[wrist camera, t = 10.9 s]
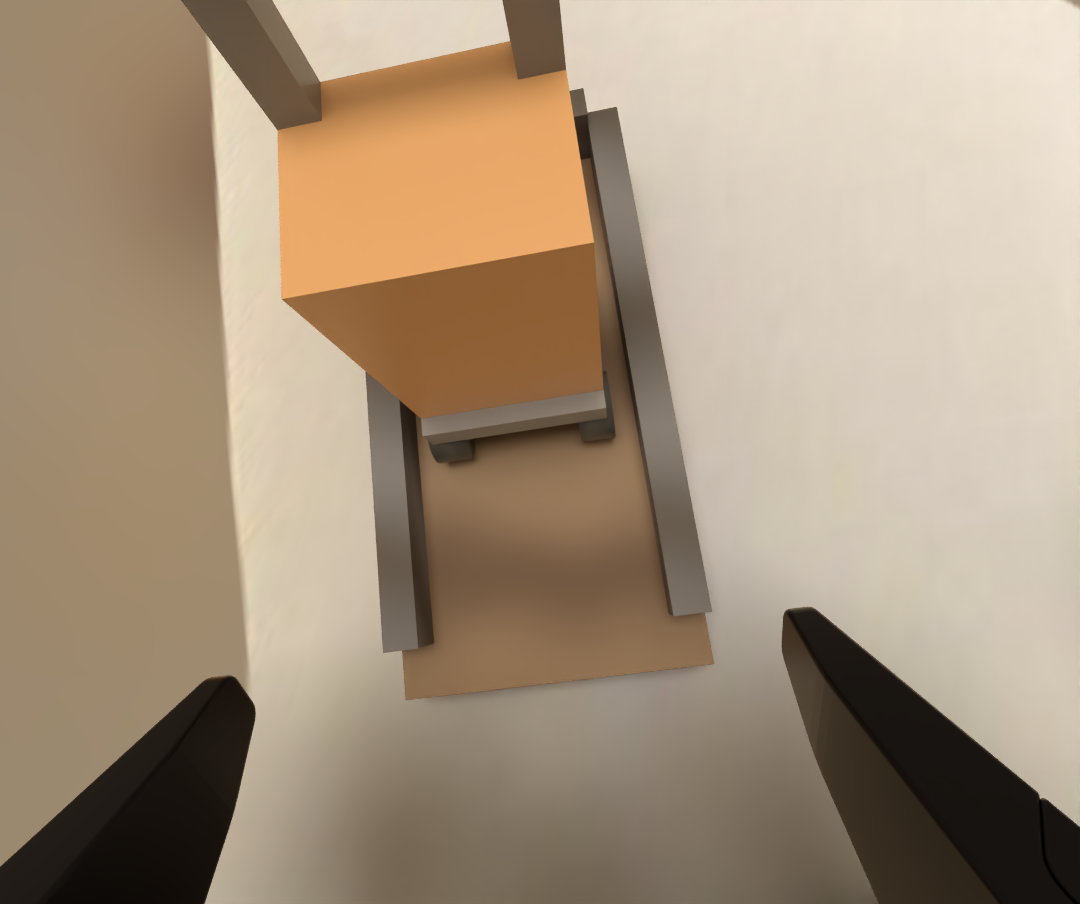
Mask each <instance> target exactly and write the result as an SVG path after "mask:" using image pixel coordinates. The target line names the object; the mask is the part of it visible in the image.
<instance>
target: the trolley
mask: <svg viewBox="0 0 1080 904" xmlns="http://www.w3.org/2000/svg"><path fill="white" fill-rule="evenodd" d="M181 1H182V2H183V3H184V5H185V6H186V7H187V9H188V10H189V11H190V13H191V14H192V15H193V17H194V18H195V19H196V21H197V22H198V23H199V25H200V26H201V28H202V29H203V30H204V32H205V33H206V34H207V36H208V37H209V38H210V40H211V41H212V42H213V44H214V45H215V46H216V48H217V49H218V51H219V52H220V53H221V55H222V56H223V57H224V59H225V60H226V61H227V63H228V64H229V65H230V67H231V68H232V69H233V71H234V72H235V73H236V75H237V76H238V77H239V79H240V80H241V81H242V83H243V84H244V86H245V87H246V88H247V90H248V91H249V92H250V94H251V95H252V96H253V98H254V99H255V100H256V102H257V103H258V104H259V106H260V107H261V108H262V110H263V111H264V112H265V114H266V115H267V116H268V118H269V119H270V121H271V122H272V123H273V125H274V126H275V127H276V129H277V130H278V169H279V210H280V252H281V294H282V300H283V301H285V302H286V303H287V304H288V305H289V306H290V307H292V308H293V309H294V310H295V311H296V312H297V313H299V314H300V315H301V316H302V317H303V318H304V319H306V320H307V321H308V322H309V323H310V324H311V325H313V326H314V327H315V328H316V329H317V330H318V331H320V332H321V333H322V334H323V335H324V336H325V337H327V338H328V339H329V340H330V341H331V342H332V343H334V344H335V345H336V346H337V347H338V348H339V349H341V350H342V351H343V352H344V353H345V354H346V355H348V356H349V357H350V358H351V359H352V360H353V361H355V362H356V363H357V364H358V365H359V366H360V367H361V368H363V369H364V370H365V371H366V372H367V373H368V374H370V375H371V376H372V377H373V378H374V379H375V380H377V381H378V382H379V383H380V384H381V385H382V386H384V387H385V388H386V389H387V390H388V391H389V392H391V393H392V394H393V395H394V396H395V397H396V398H398V399H399V400H400V401H401V402H402V403H403V404H405V405H406V406H407V407H408V408H409V409H410V410H412V411H413V412H414V413H415V414H416V415H417V416H419V417H420V418H421V423H422V435H423V437H424V438H425V439H427V440H428V443H429V447H430V450H431V453H432V455H433V457H434V459H435V460H436V462H437V463H446V462H453V461H460V460H466V459H472V458H473V457H474V453H475V438H481V437H487V436H494V435H500V434H507V433H513V432H520V431H526V430H533V429H539V428H546V427H552V426H559V425H565V424H572V423H578V422H579V428H580V434H581V439H582V442H586V441H593V440H599V439H606V438H613V437H616V434H615V424H614V416H613V409H612V402H611V395H610V389H609V383H608V378H607V373H606V371H602V359H601V344H600V328H599V312H598V297H597V281H596V265H595V250H594V239H593V233H592V227H591V221H590V215H589V208H588V202H587V196H586V190H585V184H584V178H583V172H582V165H581V159H580V153H579V147H578V141H577V135H576V129H575V122H574V116H573V110H572V104H571V98H570V92H569V85H568V79H567V73H566V65H565V55H564V45H563V34H562V24H561V14H560V3H559V0H503V5H504V10H505V15H506V21H507V26H508V31H509V36H510V41H509V42H504V43H500V44H495V45H491V46H486V47H481V48H477V49H472V50H467V51H463V52H458V53H453V54H449V55H444V56H439V57H435V58H430V59H426V60H421V61H416V62H412V63H407V64H402V65H398V66H393V67H388V68H384V69H379V70H375V71H370V72H365V73H361V74H356V75H351V76H347V77H342V78H337V79H333V80H328V81H324V82H320V81H319V79H318V78H317V76H316V74H315V72H314V71H313V69H312V67H311V66H310V64H309V62H308V61H307V59H306V57H305V55H304V54H303V52H302V50H301V49H300V47H299V45H298V44H297V42H296V40H295V38H294V37H293V35H292V33H291V32H290V30H289V28H288V27H287V25H286V23H285V21H284V20H283V18H282V16H281V15H280V13H279V11H278V9H277V8H276V6H275V4H274V3H273V1H272V0H181Z"/></svg>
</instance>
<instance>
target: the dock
mask: <svg viewBox="0 0 1080 904" xmlns="http://www.w3.org/2000/svg"><path fill="white" fill-rule="evenodd" d="M569 92H570V98H571V104H572V110H573V116H574V122H575V129H576V135H577V141H578V147H579V153H580V159H581V165H582V172H583V178H584V184H585V190H586V196H587V202H588V208H589V215H590V221H591V227H592V233H593V239H594V250H595V265H596V281H597V297H598V312H599V328H600V344H601V359H602V371H606V373H607V378H608V383H609V389H610V395H611V402H612V409H613V416H614V424H615V434H616V437H613V438H606V439H599V440H593V441H586V442H582V439H581V434H580V428H579V422H578V423H572V424H565V425H559V426H552V427H546V428H539V429H533V430H526V431H520V432H513V433H507V434H500V435H494V436H487V437H481V438H475V453H474V457H473V458H472V459H466V460H460V461H453V462H446V463H437V462H436V460H435V459H434V457H433V455H432V453H431V450H430V447H429V443H428V440H427V439H425V438H424V437H423V435H422V423H421V418H420V417H419V416H417V415H416V414H415V413H414V412H413V411H412V410H410V409H409V408H408V407H407V406H406V405H405V404H403V403H402V402H401V401H400V400H399V399H398V398H396V397H395V396H394V395H393V394H392V393H391V392H389V391H388V390H387V389H386V388H385V387H384V386H382V385H381V384H380V383H379V382H378V381H377V380H375V379H374V378H373V377H372V376H371V375H370V374H368V373H367V372H366V386H367V402H368V418H369V434H370V449H371V465H372V481H373V497H374V513H375V529H376V545H377V561H378V577H379V593H380V609H381V625H382V641H383V653H385V652H393V651H401V650H402V653H403V668H404V682H405V696H406V700H412V699H420V698H429V697H437V696H446V695H454V694H463V693H471V692H480V691H488V690H497V689H505V688H514V687H522V686H531V685H539V684H548V683H556V682H565V681H573V680H582V679H590V678H599V677H608V676H616V675H625V674H633V673H642V672H650V671H659V670H667V669H676V668H684V667H693V666H701V665H710V664H714V662H713V657H712V651H711V646H710V640H709V635H708V630H707V624H706V619H705V613H704V612H712V610H711V604H710V599H709V594H708V588H707V583H706V578H705V572H704V567H703V562H702V557H701V551H700V546H699V541H698V535H697V530H696V525H695V519H694V514H693V509H692V504H691V498H690V493H689V488H688V482H687V477H686V472H685V466H684V461H683V456H682V451H681V445H680V440H679V435H678V429H677V424H676V419H675V413H674V408H673V403H672V398H671V392H670V387H669V382H668V376H667V371H666V366H665V361H664V355H663V350H662V345H661V339H660V334H659V329H658V323H657V318H656V313H655V308H654V302H653V297H652V292H651V286H650V281H649V276H648V270H647V265H646V260H645V255H644V249H643V244H642V239H641V233H640V228H639V223H638V217H637V212H636V207H635V202H634V196H633V191H632V186H631V180H630V175H629V170H628V164H627V159H626V154H625V149H624V143H623V138H622V133H621V127H620V122H619V117H618V111H617V107H613V108H609V109H604V110H599V111H594V112H589V113H587V107H586V102H585V96H584V90H583V88H582V89H577V90H572V91H569Z"/></svg>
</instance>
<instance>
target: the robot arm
mask: <svg viewBox="0 0 1080 904" xmlns="http://www.w3.org/2000/svg"><path fill="white" fill-rule="evenodd" d="M782 653H783V657H784V661H785V664H786V668H787V671H788V674H789V677H790V680H791V683H792V687H793V690H794V693H795V696H796V699H797V702H798V706H799V709H800V712H801V715H802V718H803V722H804V725H805V728H806V731H807V734H808V737H809V741H810V744H811V747H812V749H813V752H814V755H815V758H816V761H817V763H818V766H819V768H820V771H821V773H822V775H823V778H824V780H825V782H826V784H827V787H828V789H829V791H830V794H831V796H832V798H833V800H834V803H835V805H836V807H837V810H838V812H839V814H840V816H841V819H842V821H843V823H844V826H845V828H846V830H847V832H848V835H849V837H850V839H851V841H852V844H853V846H854V848H855V851H856V853H857V855H858V857H859V860H860V862H861V864H862V867H863V869H864V871H865V873H866V876H867V878H868V880H869V883H870V885H871V887H872V889H873V892H874V894H875V896H876V899H877V901H878V903H879V904H1080V827H1079V826H1078V825H1077V824H1076V823H1074V822H1073V821H1072V820H1071V819H1070V818H1068V817H1067V816H1066V815H1065V814H1063V813H1062V812H1061V811H1060V810H1059V809H1057V808H1056V807H1055V806H1054V805H1053V804H1051V803H1050V802H1049V801H1048V800H1046V799H1044V798H1041V799H1040V798H1039V794H1038V792H1036V791H1035V790H1034V789H1033V788H1032V787H1030V786H1029V785H1028V784H1027V783H1026V782H1024V781H1023V780H1022V779H1021V778H1020V777H1018V776H1017V775H1016V774H1015V773H1013V772H1012V771H1011V770H1010V769H1009V768H1007V767H1006V766H1005V765H1004V764H1003V763H1001V762H1000V761H999V760H998V759H997V758H995V757H994V756H993V755H992V754H990V753H989V752H988V751H987V750H986V749H984V748H983V747H982V746H981V745H980V744H978V743H977V742H976V741H975V740H974V739H972V738H971V737H970V736H969V735H967V734H966V733H965V732H964V731H963V730H961V729H960V728H959V727H958V726H957V725H955V724H954V723H953V722H952V721H951V720H949V719H948V718H947V717H946V716H944V715H943V714H942V713H941V712H940V711H938V710H937V709H936V708H935V707H934V706H932V705H931V704H930V703H929V702H928V701H926V700H925V699H924V698H923V697H921V696H920V695H919V694H918V693H917V692H915V691H914V690H913V689H912V688H911V687H909V686H908V685H907V684H906V683H905V682H903V681H902V680H901V679H900V678H898V677H897V676H896V675H895V674H894V673H892V672H891V671H890V670H889V669H888V668H886V667H885V666H884V665H883V664H882V663H880V662H879V661H878V660H877V659H876V658H874V657H873V656H872V655H871V654H869V653H868V652H867V651H866V650H865V649H863V648H862V647H861V646H860V645H859V644H857V643H856V642H855V641H854V640H853V639H851V638H850V637H849V636H848V635H846V634H845V633H844V632H843V631H842V630H840V629H839V628H838V627H837V626H836V625H834V624H833V623H832V622H831V621H830V620H828V619H827V618H826V617H825V616H823V615H822V614H821V613H820V612H819V611H817V610H816V609H814V608H812V607H802V608H793V609H788V610H786V611H785V613H784V616H783V631H782ZM255 714H256V712H255V706H254V704H253V702H252V700H251V699H250V697H249V696H248V694H247V693H246V692H245V690H244V689H243V687H242V686H241V684H240V683H239V681H238V680H237V679H236V678H235V677H233V676H231V675H227V676H218V677H211V678H208V679H206V680H205V681H203V682H202V683H201V684H200V685H199V686H198V687H196V688H195V690H193V691H192V692H191V693H190V694H189V695H188V696H187V697H186V698H185V699H183V700H182V701H181V702H180V703H179V704H178V705H177V706H176V707H175V708H173V710H171V711H170V712H169V713H168V714H167V715H166V716H165V717H164V718H163V719H162V720H160V721H159V722H158V723H157V724H156V725H155V726H154V727H153V728H152V729H151V730H149V731H148V732H147V733H146V734H145V735H144V736H143V737H142V738H141V739H140V740H138V741H137V742H136V743H135V744H134V745H133V746H132V747H131V748H130V749H129V750H128V751H126V752H125V753H124V754H123V755H122V756H121V757H120V758H119V759H118V760H117V761H116V762H114V763H113V764H112V765H111V766H110V767H109V768H108V769H107V770H106V771H105V772H103V773H102V774H101V775H100V776H99V777H98V778H97V779H96V780H95V781H94V782H93V783H91V785H89V786H88V787H87V788H86V789H85V790H84V791H83V792H82V793H80V794H79V795H78V796H77V797H76V798H75V799H74V800H73V801H72V802H71V803H70V804H68V805H67V806H66V807H65V808H64V809H63V810H62V811H61V812H60V813H59V814H57V815H56V816H55V817H54V818H53V819H52V820H51V821H50V822H49V823H48V824H47V825H45V826H44V827H43V828H42V829H41V830H40V831H39V832H38V833H37V834H36V835H34V836H33V837H32V838H31V839H30V840H29V841H28V842H27V843H26V844H25V845H24V846H22V847H21V848H20V849H19V850H18V851H17V852H16V853H15V854H14V855H13V856H11V858H9V859H8V860H7V861H6V862H5V863H4V864H3V865H2V866H0V904H205V901H206V898H207V894H208V891H209V888H210V885H211V882H212V879H213V876H214V873H215V870H216V867H217V864H218V861H219V858H220V855H221V851H222V848H223V845H224V842H225V839H226V836H227V833H228V830H229V827H230V823H231V820H232V817H233V813H234V810H235V806H236V802H237V798H238V794H239V789H240V785H241V780H242V776H243V771H244V767H245V762H246V758H247V754H248V749H249V745H250V740H251V736H252V731H253V727H254V722H255Z"/></svg>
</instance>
